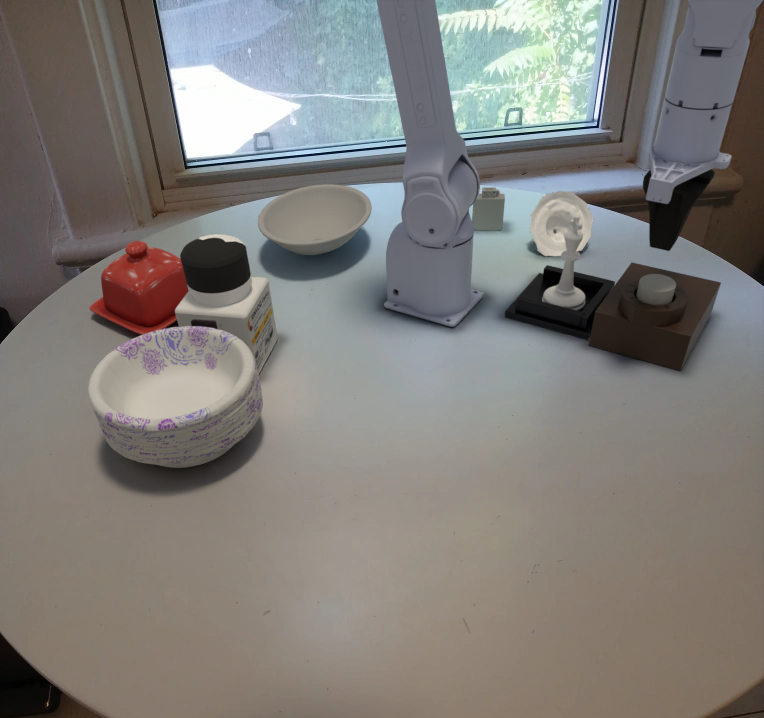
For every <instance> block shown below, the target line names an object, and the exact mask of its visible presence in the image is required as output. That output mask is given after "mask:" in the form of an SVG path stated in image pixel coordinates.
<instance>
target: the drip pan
mask: <svg viewBox="0 0 764 718" xmlns="http://www.w3.org/2000/svg"><path fill="white" fill-rule="evenodd" d="M562 272H563V268H561V267H557V266H552V265H548V264H547V265H545V267H544V268H543V273H541V272H538V274H537V275H535V277H534V278H533V279H532V280H531V282H529V284H528V285H527V286H526V287H525V288H524V289H523V290H522V291H521V293H520V294H519V295H518V296H517V297H516V298H515V299H514V300H513V302H512V303H511V304H510V305H509V306H508V307H507V308H506V309H505V312H504V318H506V319H507V318H508V319H510V320H514V321H518V322H521V323H526V324H528V325H532V326H536V327H540V328H543V329H547V330H550V331H555V332H558V333H562V334H565V335H569V336H572V337H576V338H580V339H583V340H588V339H590V336H591V331H592V326H593V320H594V315H595V311H596V310H597V309H598V307H599V306H600V305H601V303H602V302H603V300H604V299H605V298H606V296H607V295H608V294H609V292H610V291H611V290H612V288H613V287H614V286H615V284H616V281H615V280H611V279H607V278H602V277H598V276H595V275H591V274H586V273H582V272H577V271H574V277H573V285H574V286H575V287H576V288H578V289H580V290H581V291H582V292H583V293H584V294H585V305H584V306H583V307H582V308H581V309H579V310H573V309H569V308H565V307H561V306H557V305H554V304H550V303H546V302H542V298H543V294H544V292H545V291H546V290H547V289H548V288H550V287H552V286H556V285H558V284H559V282H560V279H561V275H562Z"/></svg>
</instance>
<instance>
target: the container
mask: <svg viewBox="0 0 764 718" xmlns="http://www.w3.org/2000/svg"><path fill="white" fill-rule="evenodd" d="M179 258H180V259H181V262H182V266H183V270H184V274H185V278H186V282H187V286H188V290H189V291H188V293H187V294H186V295H185V297H184V298H183V299H182V301H181V302H180V303H179V305H178V306H177V307H176V309H175V314H176V318H177V321H176V322H177V324H178V327H182V326H202V327H210V328H215V329H219V330H223V331H226V332H228V333H231V334H232V335H234V336H236V337H238V338H239V339H241V340H242V341H243V342H244V343H245V344H246V345H247V346H248V347H249V349H250V350H251V352H252V354H253V356H254V359H255V362H256V369H257V372H258V375H260V372H261V371H262V370H263V367H264V365H265V364H266V361H267V360H268V358H269V356H270V354H271V352H272V350H273V348H274V347H275V345H276V343H277V341H278V339H279V337H278V332H277V331H278V330H277V324H276V319H275V312H274V306H273V300H272V295H271V288H270V281H269V279H268V278H267V277H263V276H252V272H251V268H250V267H251V266H250V262H249V257H248V251H247V246H246V244H245V242H243V241H242V240H240V239H239V238H238V237H236V236H233V235H228V234H218V233H217V234H216V233H215V234H207V235H203V236H200V237H197V238H195V239H194V240H191V241H190V242H188V243H187V244H186V245H184V247H183V248H182V250H181V252H180V254H179Z"/></svg>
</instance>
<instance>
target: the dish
mask: <svg viewBox="0 0 764 718" xmlns="http://www.w3.org/2000/svg"><path fill="white" fill-rule="evenodd" d="M372 208H373V205H372V202H371V199H370V198H369V196H367V194H365V193H364V192H363V191H361V190H359V189H357V188H354V187H352V186H348V185H342V184H335V183H334V184H333V183H331V184H330V183H329V184H327V183H326V184H325V183H324V184H313V185H308V186H303V187H299V188H296V189H293V190H289V191H288V192H285V193H283V194H281V195H279V196H277V197H276V198H273V199H272V200H270V202H268V203H267V204H266V205H265V206H264V207H263V208H262V209H261V211H260V213H259V215H258V218H257V227H258V229H259V232H260V233H261V234H262V235H263V236H264V237H265V238H266V239H268V240H270V241H272V242H274V243H276V244H277V245H278V246H279V247H281V248H283V249H284V250H286V251H289V252H291V253H294V254H298V255H304V256H316V255H322V254H327V253H330V252H333V251H335V250H337V249H339V248H341V247H342V246H344V245H345V244H346V243H348V242H349V241H350V240H351V239H353V237H354V236H355V235H356V234H357V233H358V231H359V230H360V229H361V228H362V227H363V226H364V225H365V224H366V223H367V221H368V220H369V219H370V217H371V214H372V210H373V209H372Z"/></svg>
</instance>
